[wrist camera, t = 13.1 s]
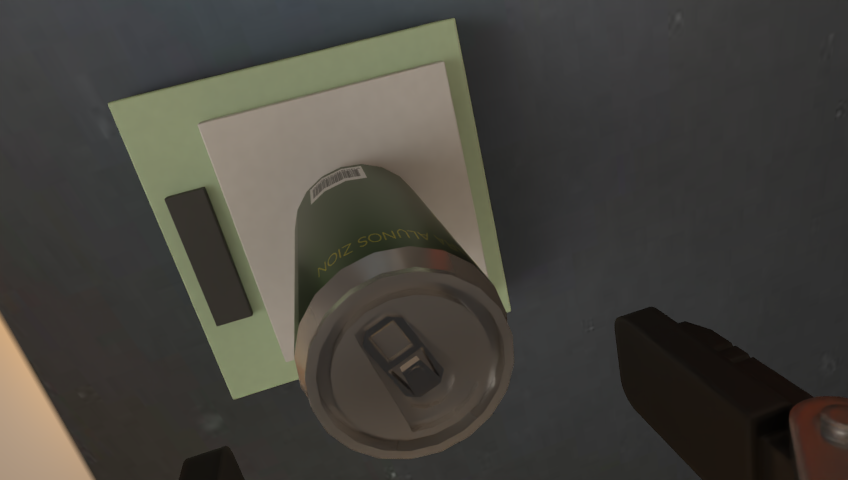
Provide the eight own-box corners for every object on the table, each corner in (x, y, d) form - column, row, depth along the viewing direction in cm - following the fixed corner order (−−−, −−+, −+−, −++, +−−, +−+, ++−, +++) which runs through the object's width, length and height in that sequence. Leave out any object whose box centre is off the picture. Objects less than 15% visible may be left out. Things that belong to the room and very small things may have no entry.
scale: (238, 367, 29) (231, 410, 26) (128, 96, 24) (99, 105, 21) (492, 288, 31) (517, 318, 27) (437, 21, 26) (460, 16, 22)
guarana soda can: (267, 211, 23) (241, 360, 12) (373, 134, 23) (447, 212, 12) (345, 304, 25) (385, 505, 14) (443, 233, 25) (561, 379, 14)
